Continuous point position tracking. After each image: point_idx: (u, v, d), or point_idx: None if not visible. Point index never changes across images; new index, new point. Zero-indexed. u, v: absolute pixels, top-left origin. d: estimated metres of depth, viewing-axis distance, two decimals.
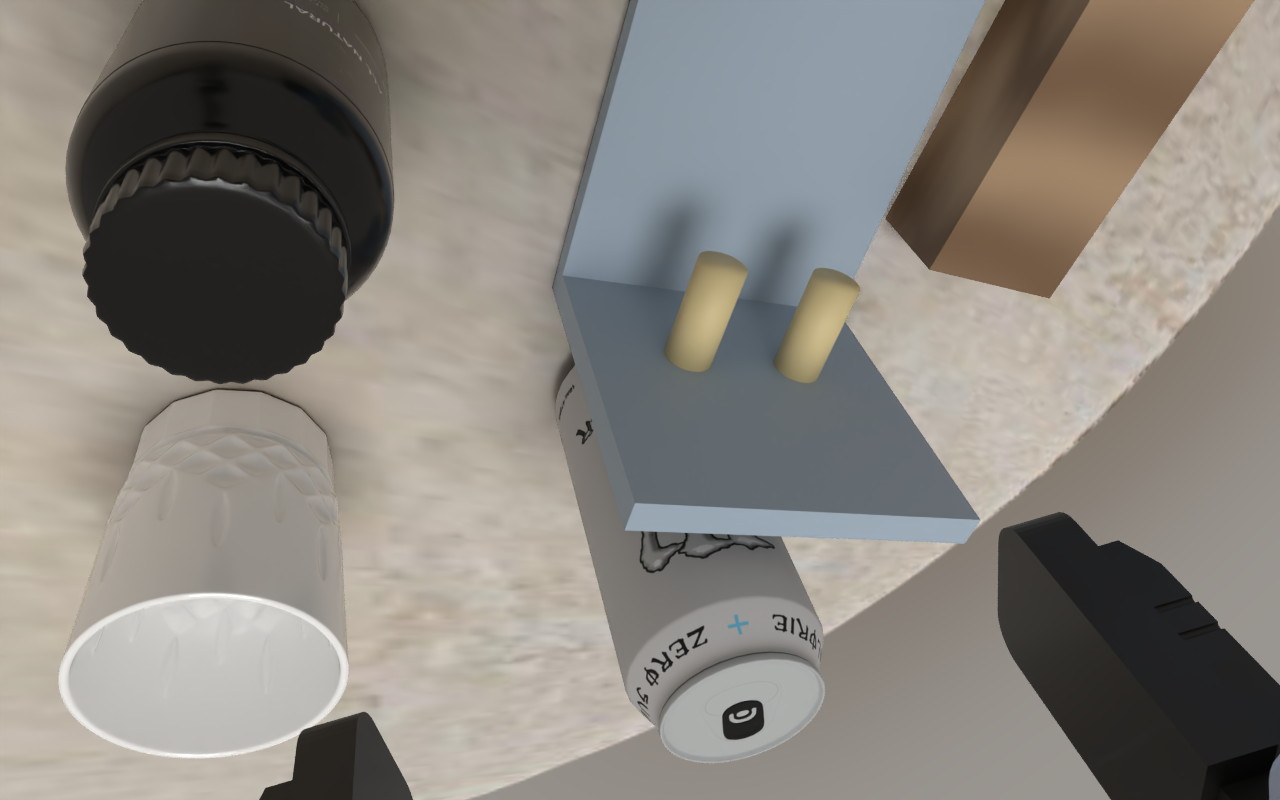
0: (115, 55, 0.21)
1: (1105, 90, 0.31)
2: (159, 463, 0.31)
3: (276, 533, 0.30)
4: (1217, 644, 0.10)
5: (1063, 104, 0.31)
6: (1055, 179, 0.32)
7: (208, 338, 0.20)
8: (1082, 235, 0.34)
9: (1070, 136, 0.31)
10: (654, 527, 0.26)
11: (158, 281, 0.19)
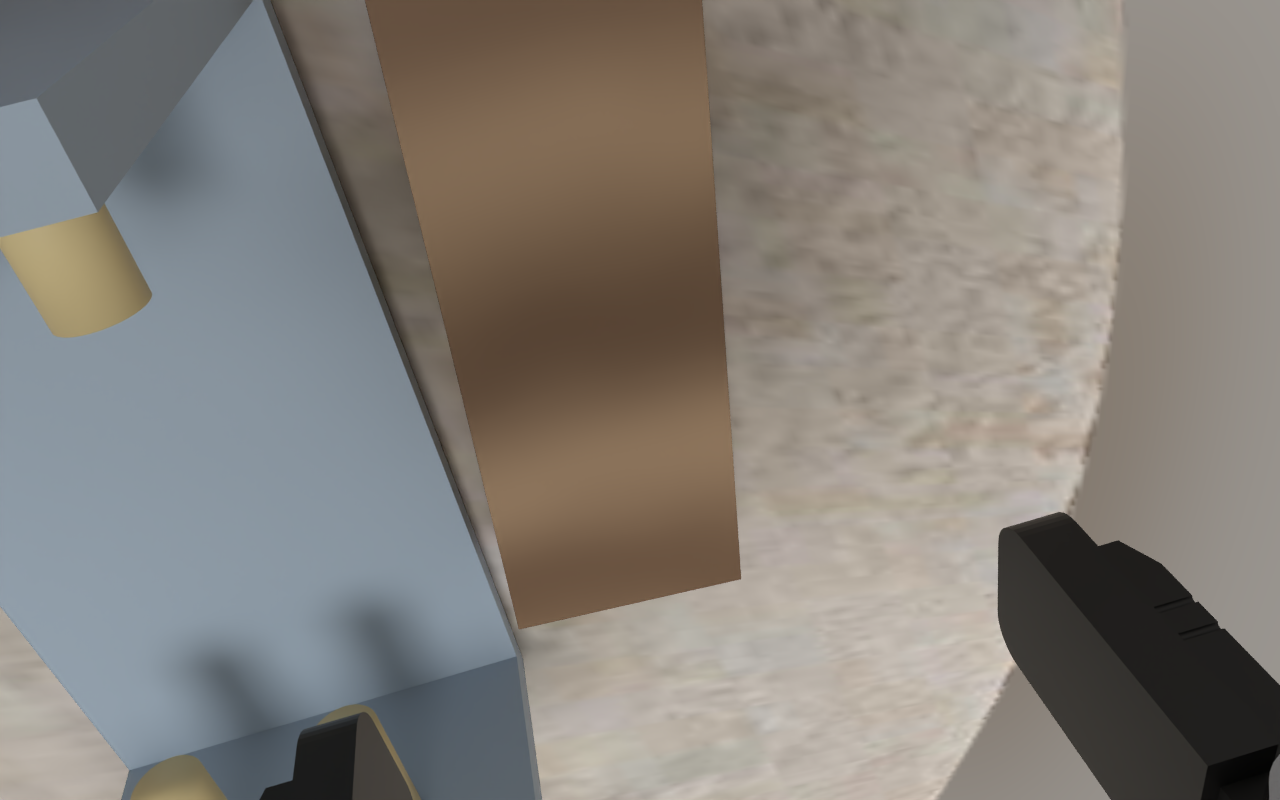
0: None
1: (574, 350, 0.20)
2: None
3: None
4: (1217, 644, 0.10)
5: (523, 394, 0.20)
6: (604, 469, 0.21)
7: None
8: (717, 500, 0.22)
9: (576, 417, 0.21)
10: None
11: None
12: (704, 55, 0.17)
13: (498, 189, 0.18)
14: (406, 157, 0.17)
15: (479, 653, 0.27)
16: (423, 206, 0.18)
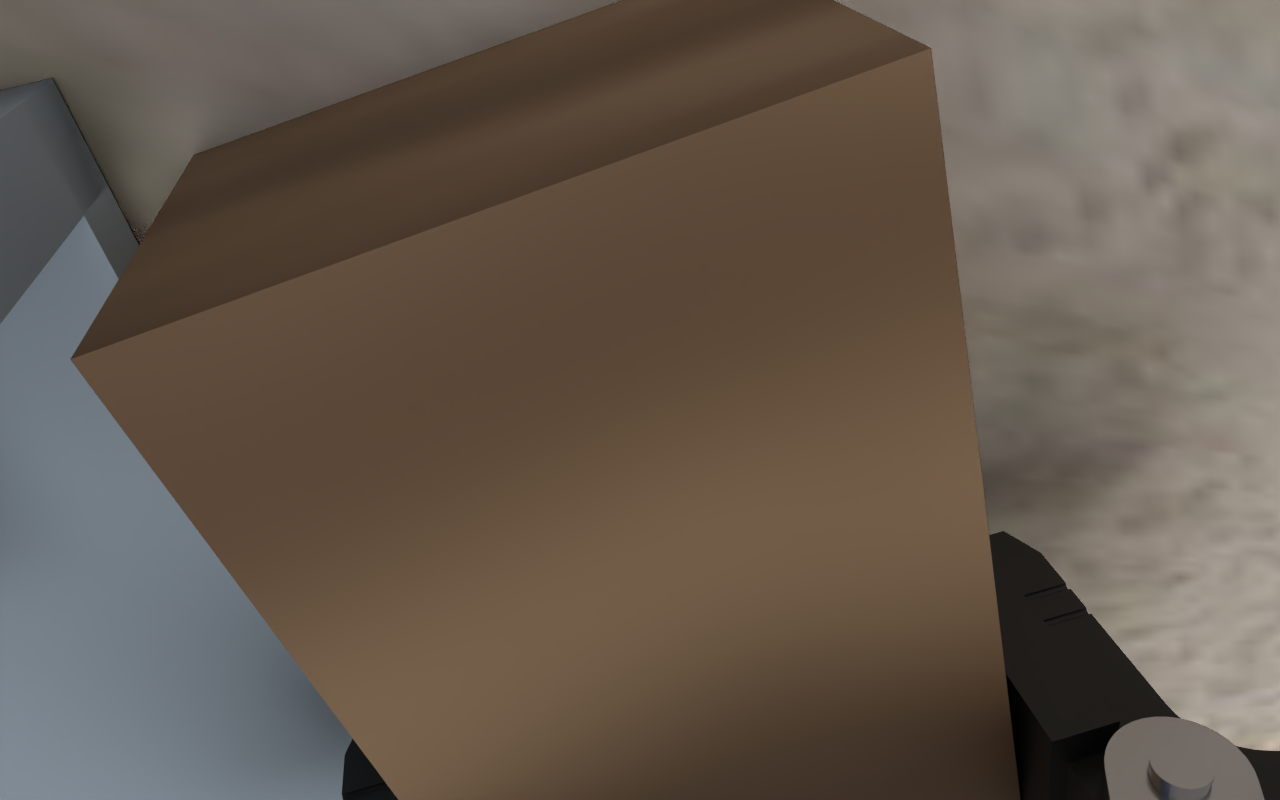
0: None
1: None
2: None
3: None
4: (1082, 628, 0.11)
5: None
6: None
7: None
8: None
9: None
10: None
11: None
12: (965, 373, 0.07)
13: (545, 706, 0.08)
14: (334, 705, 0.08)
15: None
16: (395, 768, 0.08)
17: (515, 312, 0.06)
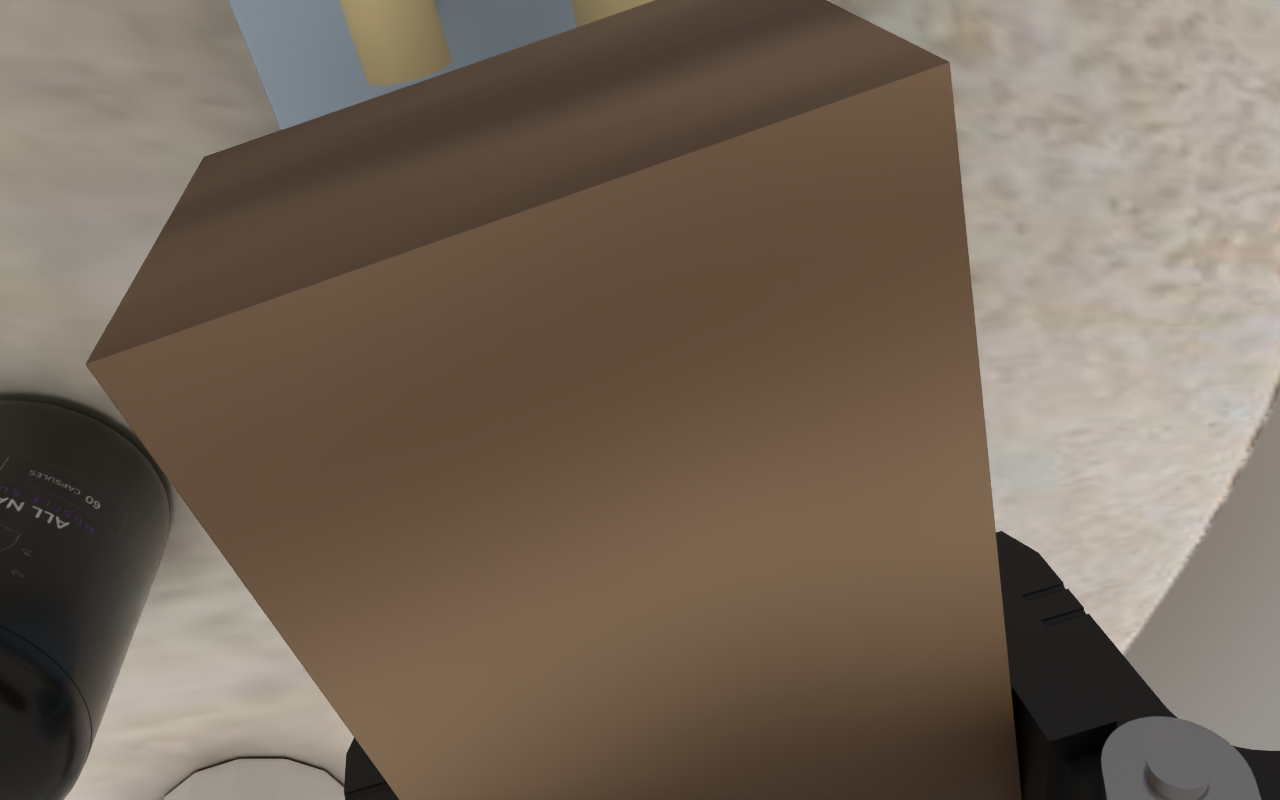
0: None
1: None
2: None
3: None
4: (1080, 628, 0.11)
5: None
6: None
7: None
8: None
9: None
10: None
11: None
12: (975, 385, 0.07)
13: (552, 713, 0.08)
14: (342, 711, 0.08)
15: None
16: (401, 774, 0.08)
17: (530, 320, 0.06)
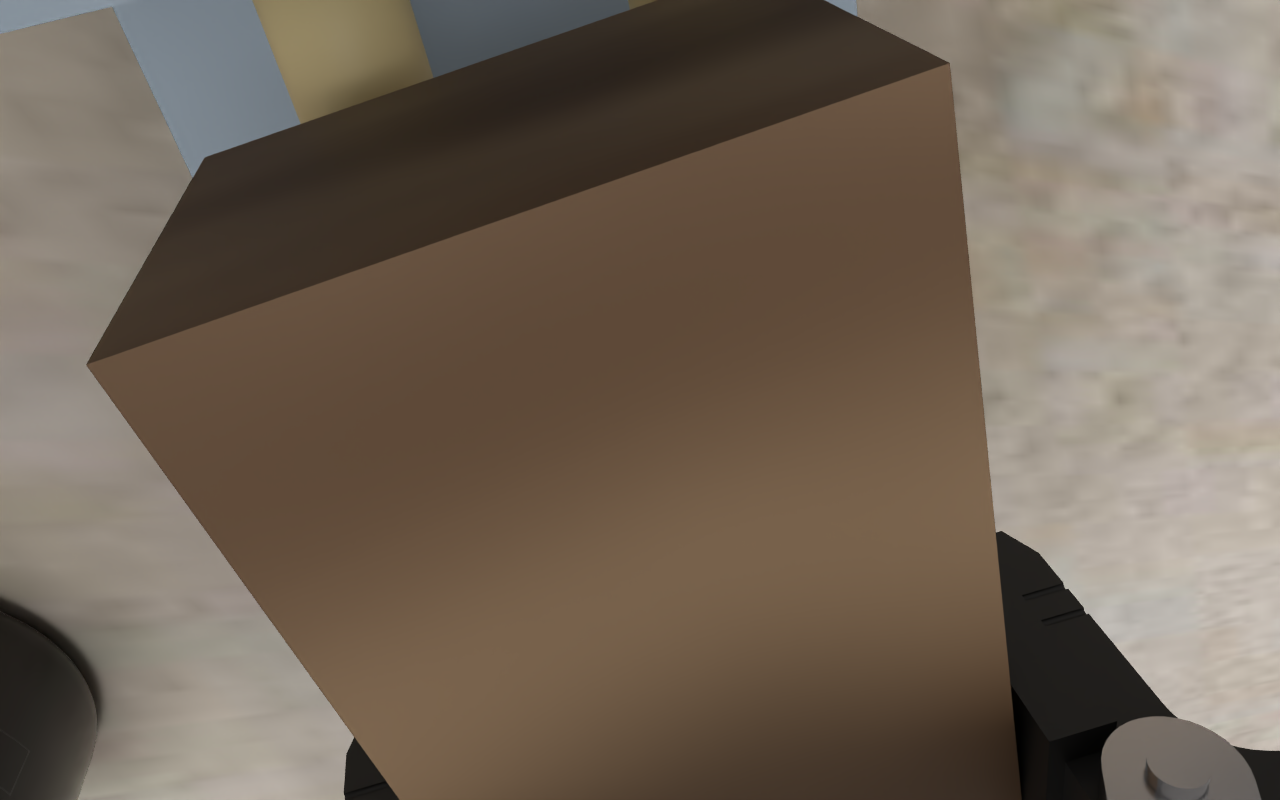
0: None
1: None
2: None
3: None
4: (1080, 628, 0.11)
5: None
6: None
7: None
8: None
9: None
10: None
11: None
12: (975, 386, 0.07)
13: (551, 713, 0.08)
14: (342, 711, 0.08)
15: None
16: (402, 774, 0.08)
17: (530, 322, 0.06)
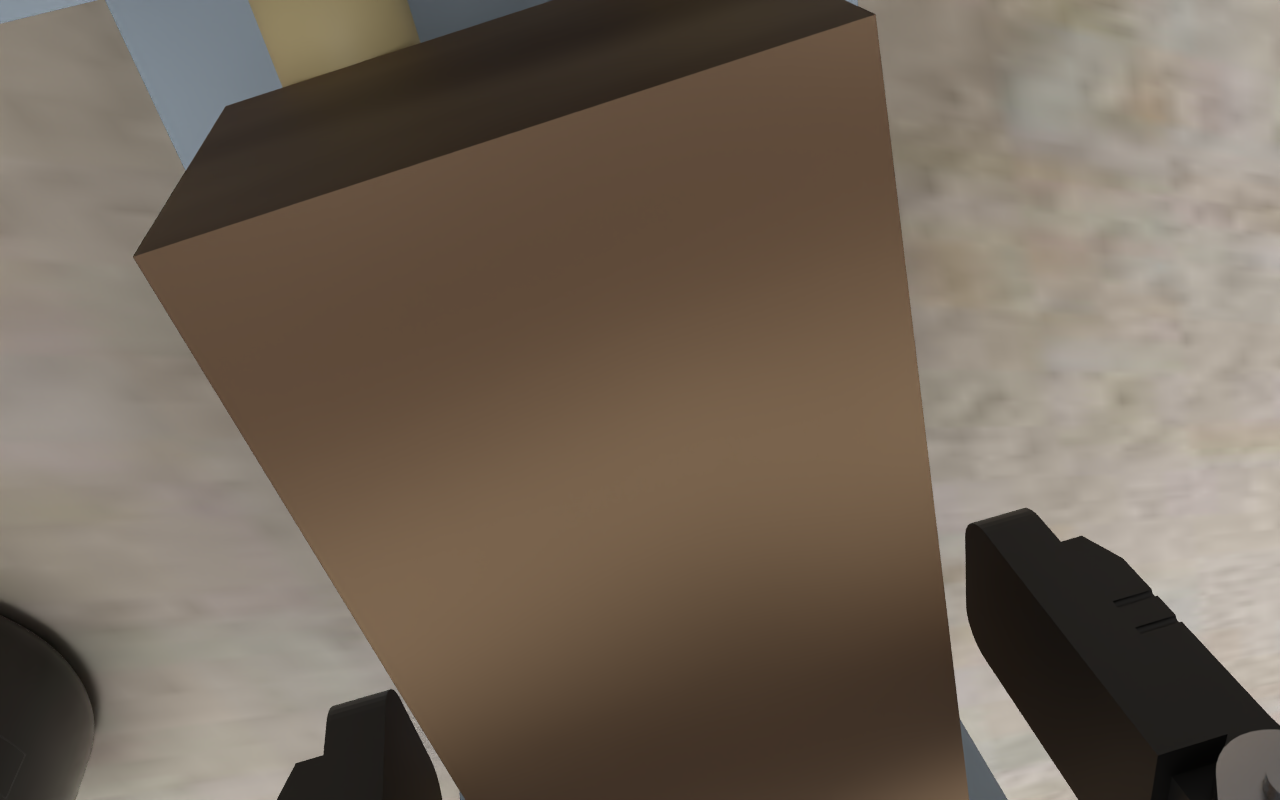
0: None
1: (700, 791, 0.11)
2: None
3: None
4: (1174, 637, 0.10)
5: None
6: None
7: None
8: None
9: None
10: None
11: None
12: (905, 309, 0.08)
13: (530, 602, 0.09)
14: (343, 590, 0.09)
15: None
16: (394, 655, 0.09)
17: (514, 231, 0.07)
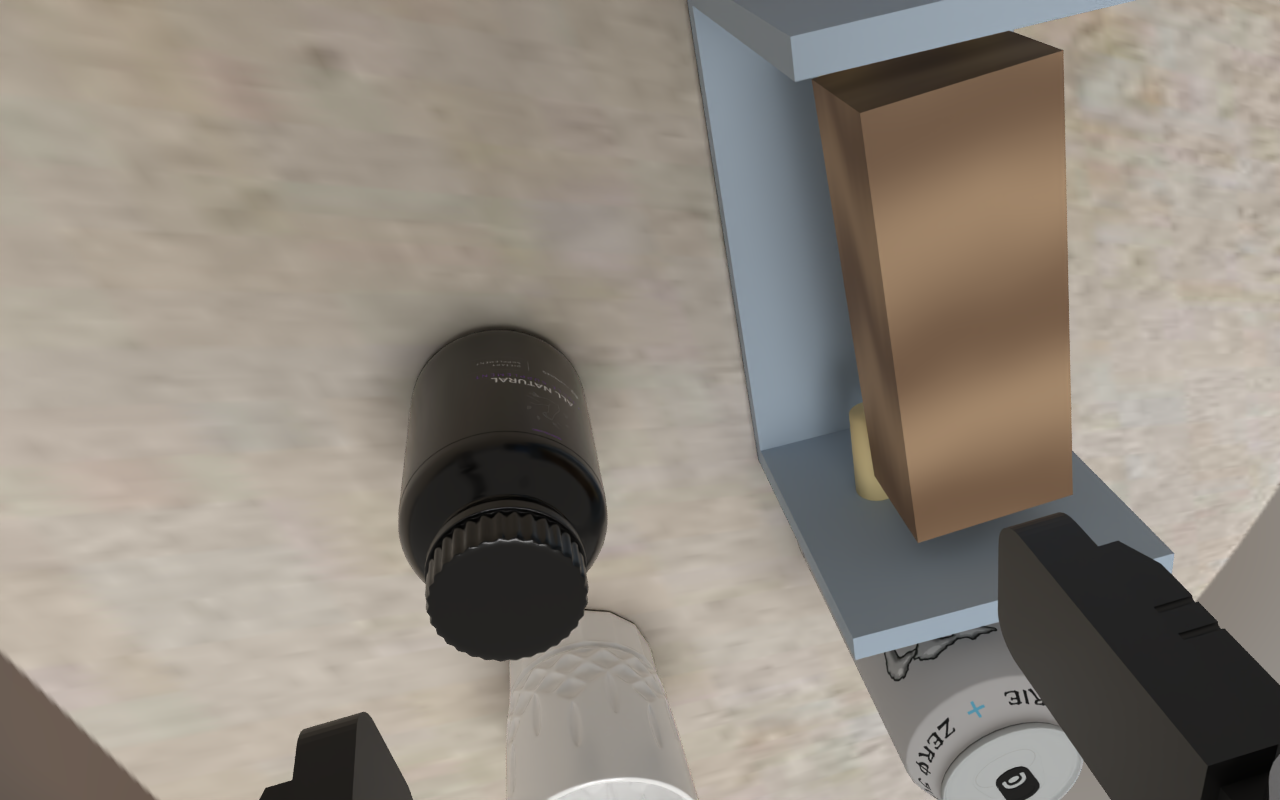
0: (406, 462, 0.32)
1: (969, 342, 0.29)
2: (525, 690, 0.42)
3: (616, 722, 0.39)
4: (1217, 644, 0.10)
5: (935, 374, 0.30)
6: (984, 422, 0.31)
7: (513, 633, 0.29)
8: (1059, 437, 0.32)
9: (967, 388, 0.30)
10: (878, 650, 0.32)
11: (472, 611, 0.29)
12: (1063, 142, 0.27)
13: (931, 243, 0.27)
14: (878, 231, 0.27)
15: None
16: (885, 260, 0.27)
17: (957, 110, 0.26)
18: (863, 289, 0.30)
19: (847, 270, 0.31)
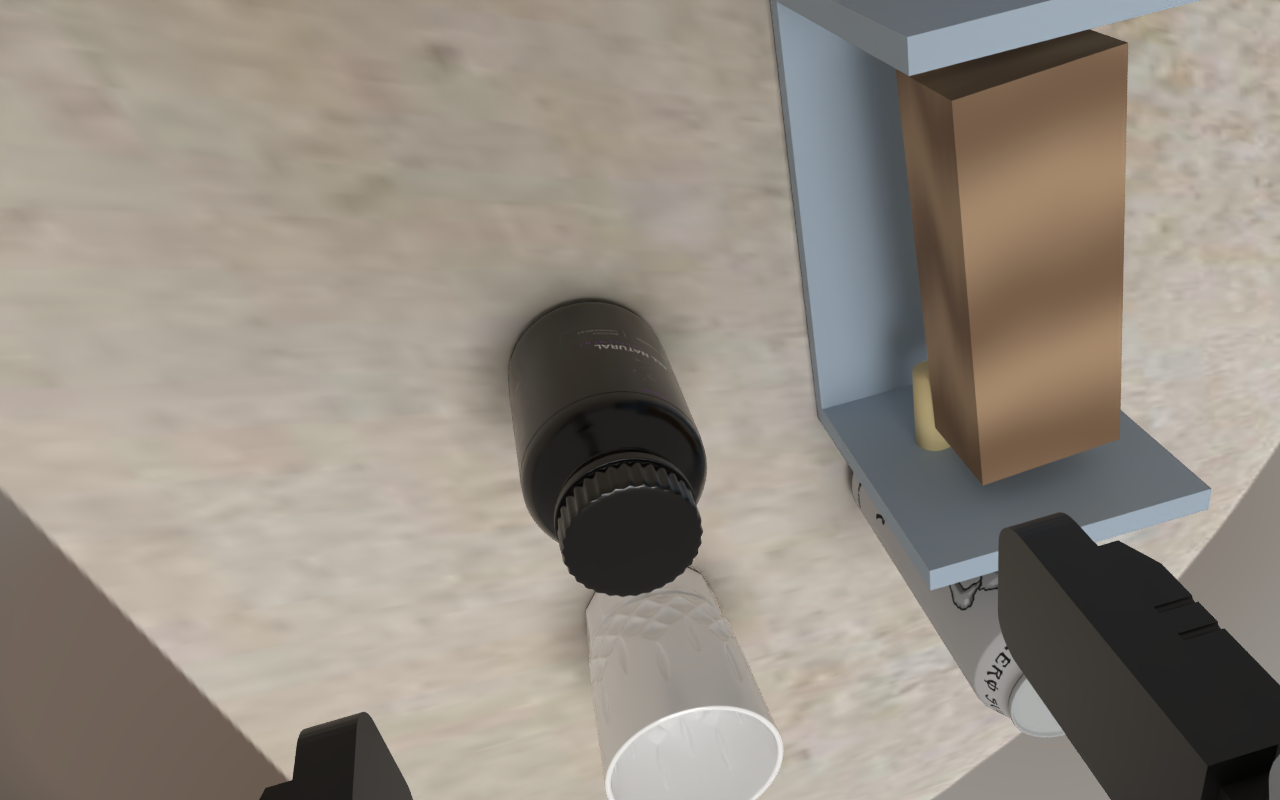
0: (523, 423, 0.36)
1: (1036, 302, 0.33)
2: (608, 634, 0.46)
3: (700, 659, 0.43)
4: (1217, 644, 0.10)
5: (1005, 332, 0.33)
6: (1045, 374, 0.35)
7: (635, 571, 0.33)
8: (1110, 387, 0.36)
9: (1032, 344, 0.34)
10: (950, 581, 0.36)
11: (602, 552, 0.32)
12: (1124, 123, 0.30)
13: (1007, 215, 0.31)
14: (962, 205, 0.30)
15: None
16: (966, 231, 0.31)
17: (1035, 96, 0.29)
18: (939, 257, 0.34)
19: (921, 240, 0.35)
